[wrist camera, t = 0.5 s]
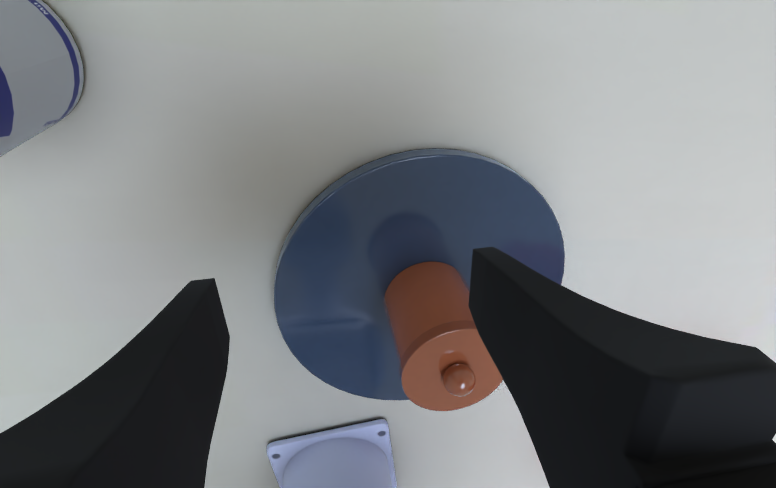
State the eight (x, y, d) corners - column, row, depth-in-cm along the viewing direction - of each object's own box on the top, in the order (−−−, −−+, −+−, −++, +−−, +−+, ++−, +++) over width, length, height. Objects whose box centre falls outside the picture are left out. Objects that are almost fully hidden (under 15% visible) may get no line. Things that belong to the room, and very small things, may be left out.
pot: (469, 322, 26) (517, 418, 21) (385, 339, 26) (411, 441, 20) (468, 250, 24) (523, 337, 18) (376, 267, 23) (402, 361, 18)
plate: (544, 361, 31) (551, 372, 30) (305, 410, 29) (305, 423, 28) (571, 125, 22) (582, 131, 21) (239, 175, 21) (236, 184, 20)
